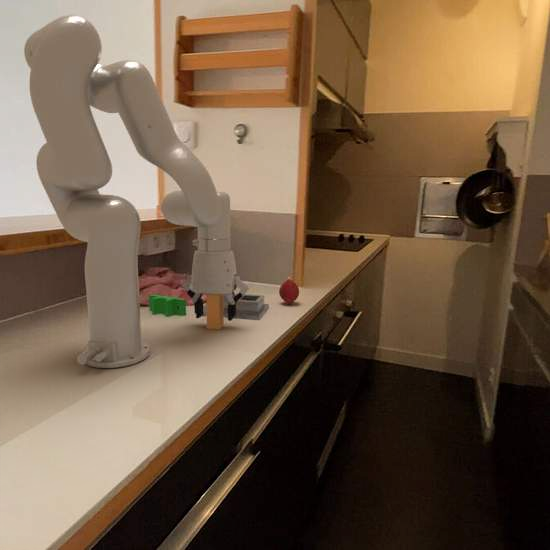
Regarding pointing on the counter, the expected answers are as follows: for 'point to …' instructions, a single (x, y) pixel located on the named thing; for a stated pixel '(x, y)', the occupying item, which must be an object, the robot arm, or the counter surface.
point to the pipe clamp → (167, 305)
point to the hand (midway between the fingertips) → (215, 317)
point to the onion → (289, 291)
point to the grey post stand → (245, 307)
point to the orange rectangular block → (215, 311)
